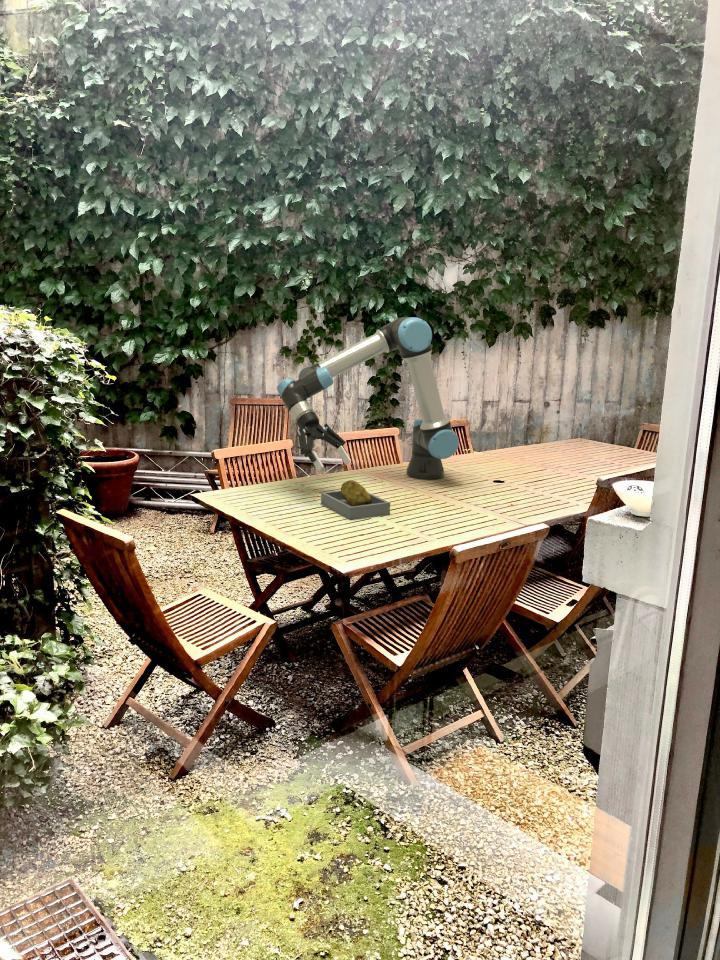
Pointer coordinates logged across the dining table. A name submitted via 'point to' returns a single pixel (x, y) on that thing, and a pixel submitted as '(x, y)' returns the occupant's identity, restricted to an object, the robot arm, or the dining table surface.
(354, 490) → the potato
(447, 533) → the dining table surface
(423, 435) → the robot arm
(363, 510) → the tray
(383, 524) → the dining table surface
